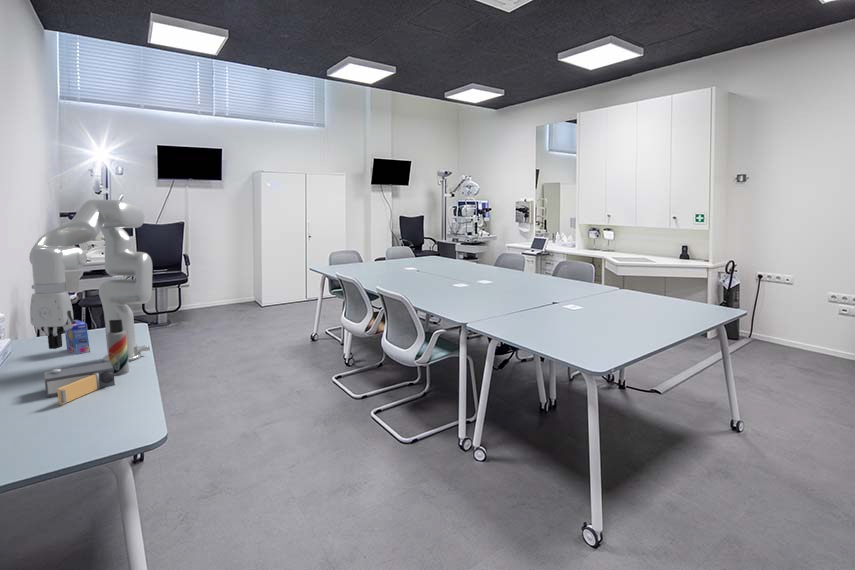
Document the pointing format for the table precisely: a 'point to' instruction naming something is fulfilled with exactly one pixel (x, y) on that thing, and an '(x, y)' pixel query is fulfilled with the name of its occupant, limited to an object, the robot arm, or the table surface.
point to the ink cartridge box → (77, 338)
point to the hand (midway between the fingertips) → (55, 347)
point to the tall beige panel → (78, 388)
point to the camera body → (77, 376)
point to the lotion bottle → (118, 347)
